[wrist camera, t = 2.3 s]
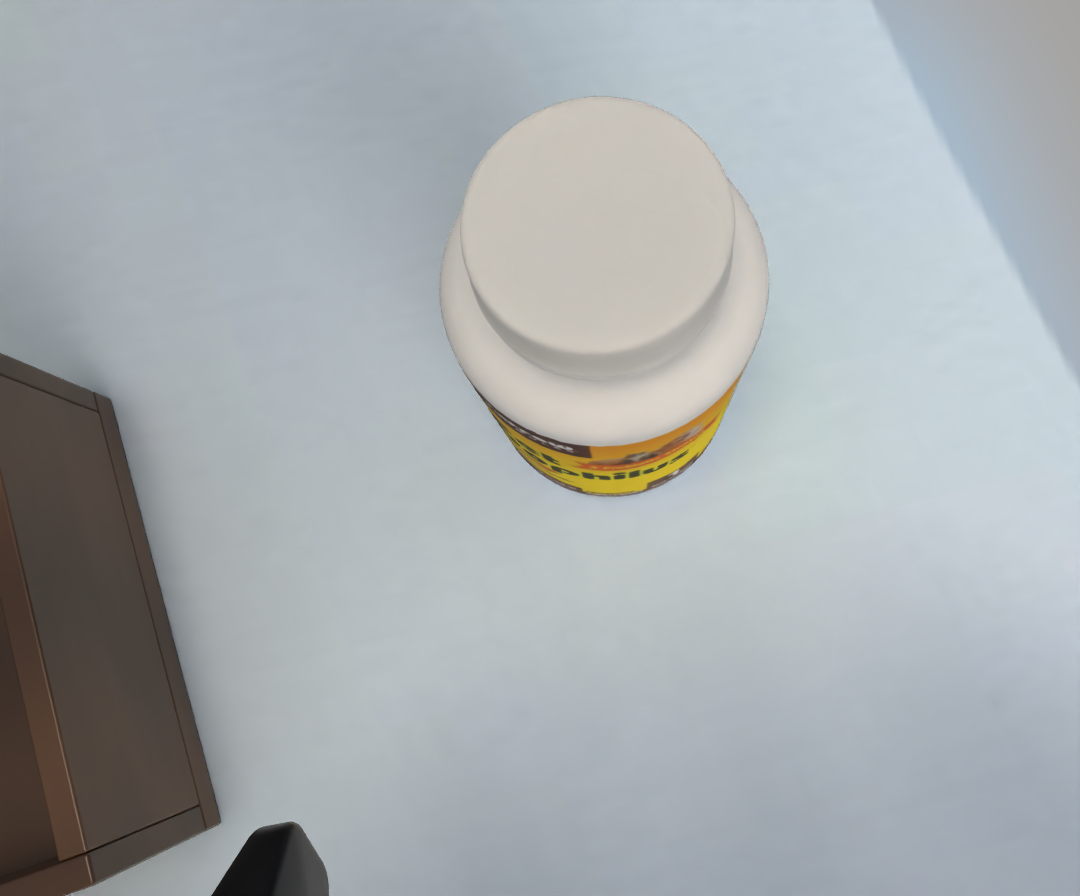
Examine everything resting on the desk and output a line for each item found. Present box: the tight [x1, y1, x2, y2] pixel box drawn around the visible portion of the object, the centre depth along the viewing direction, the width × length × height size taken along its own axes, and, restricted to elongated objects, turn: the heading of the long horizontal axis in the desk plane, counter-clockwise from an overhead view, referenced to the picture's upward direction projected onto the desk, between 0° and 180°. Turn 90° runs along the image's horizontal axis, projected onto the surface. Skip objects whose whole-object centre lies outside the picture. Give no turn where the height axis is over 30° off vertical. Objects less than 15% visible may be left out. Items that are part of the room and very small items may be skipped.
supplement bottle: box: [440, 96, 769, 497], centre depth 18 cm, size 6×6×10 cm
